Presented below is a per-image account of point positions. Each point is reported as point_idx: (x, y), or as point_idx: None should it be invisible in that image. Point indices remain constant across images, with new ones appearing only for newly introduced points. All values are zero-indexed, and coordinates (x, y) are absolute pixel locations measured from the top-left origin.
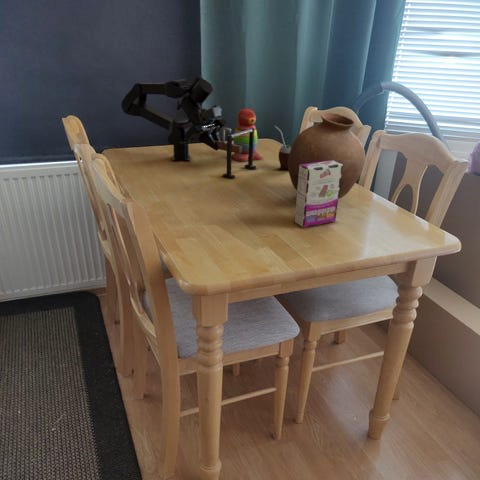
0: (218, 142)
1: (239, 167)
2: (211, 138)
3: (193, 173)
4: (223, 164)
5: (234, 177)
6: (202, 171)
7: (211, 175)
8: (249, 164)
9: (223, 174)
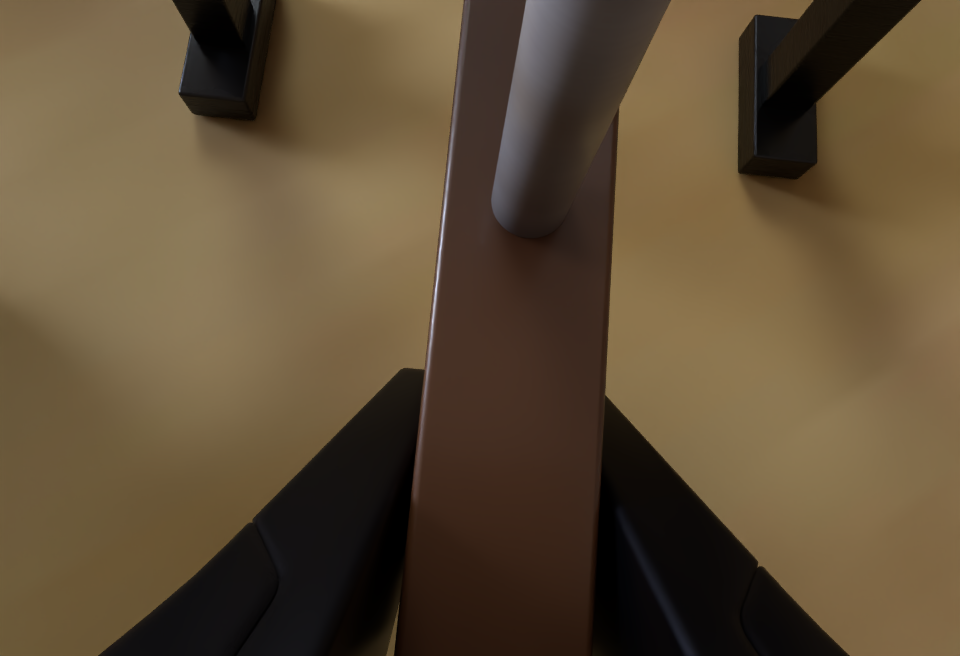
0: (601, 364)
1: (271, 192)
2: (789, 643)
3: (942, 616)
4: (255, 474)
5: (747, 33)
6: (774, 555)
7: (842, 339)
8: (242, 11)
9: (814, 156)
